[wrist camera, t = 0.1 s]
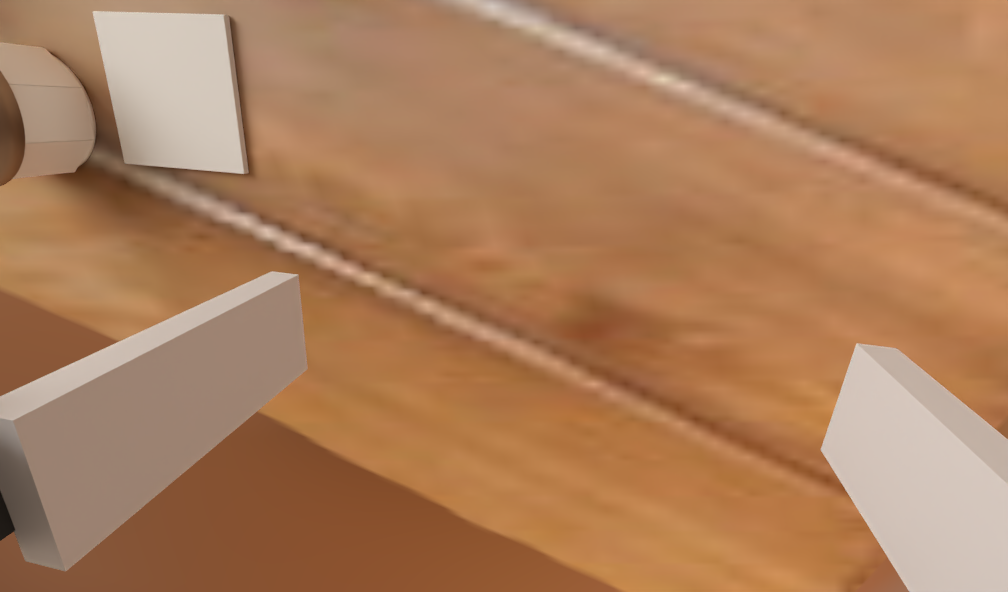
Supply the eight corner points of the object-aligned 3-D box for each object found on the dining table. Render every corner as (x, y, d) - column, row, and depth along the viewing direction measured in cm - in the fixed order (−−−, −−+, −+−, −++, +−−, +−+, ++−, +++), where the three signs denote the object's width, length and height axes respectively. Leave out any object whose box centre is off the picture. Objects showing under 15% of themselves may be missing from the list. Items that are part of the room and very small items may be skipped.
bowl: (-19, 45, 44) (-118, 34, 38) (79, 49, 42) (-9, 38, 36) (16, 165, 48) (-70, 173, 42) (107, 174, 46) (32, 182, 40)
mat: (99, 12, 41) (92, 11, 40) (229, 16, 39) (223, 14, 38) (130, 162, 45) (124, 163, 44) (248, 173, 43) (244, 173, 42)
